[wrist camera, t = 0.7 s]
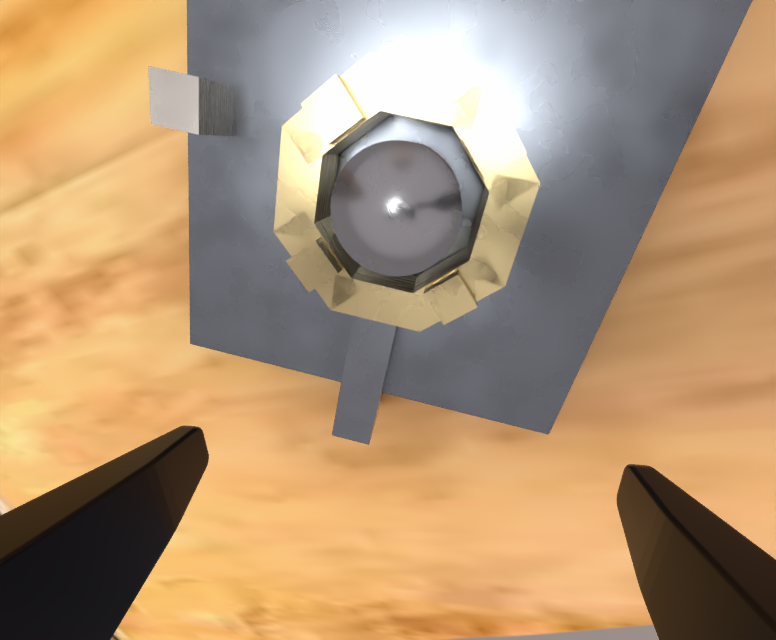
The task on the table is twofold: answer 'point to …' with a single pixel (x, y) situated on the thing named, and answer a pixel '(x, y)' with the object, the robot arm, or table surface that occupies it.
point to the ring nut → (373, 290)
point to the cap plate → (438, 176)
